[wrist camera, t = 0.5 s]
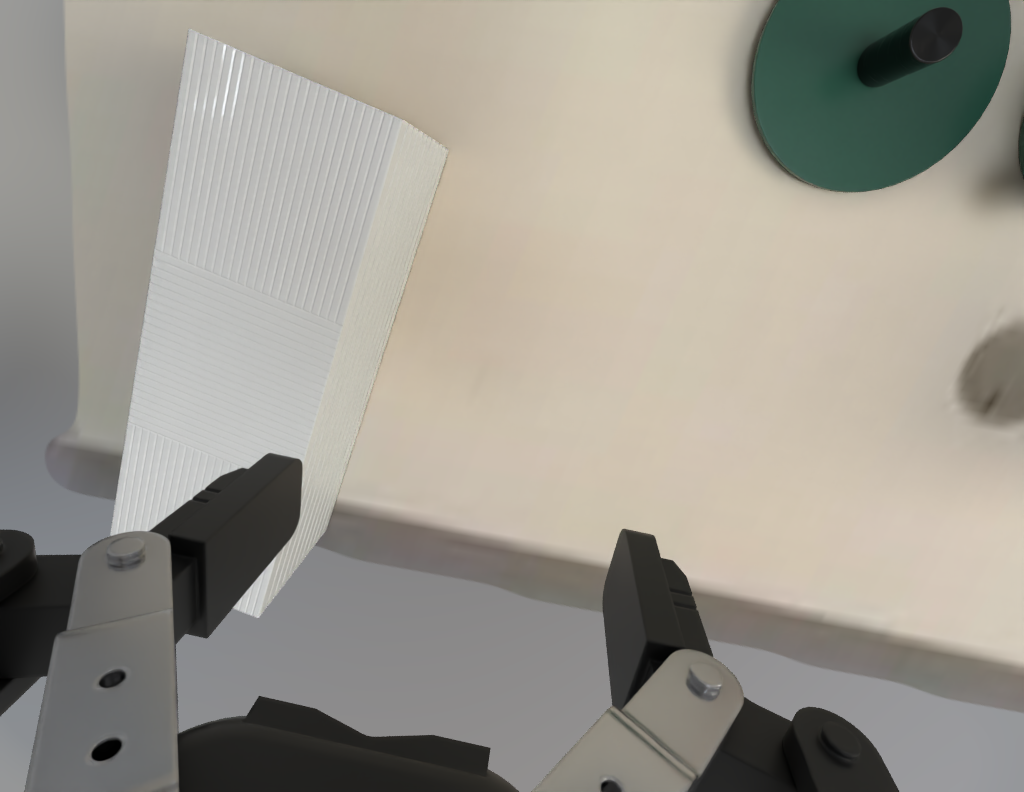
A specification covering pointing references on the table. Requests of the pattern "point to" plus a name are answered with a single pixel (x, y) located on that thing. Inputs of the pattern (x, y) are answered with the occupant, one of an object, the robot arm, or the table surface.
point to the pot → (1021, 148)
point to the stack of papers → (268, 288)
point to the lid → (874, 85)
